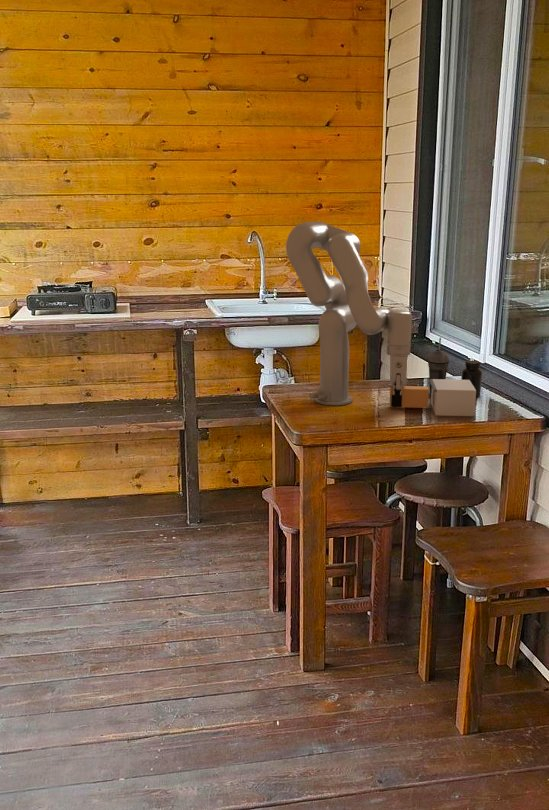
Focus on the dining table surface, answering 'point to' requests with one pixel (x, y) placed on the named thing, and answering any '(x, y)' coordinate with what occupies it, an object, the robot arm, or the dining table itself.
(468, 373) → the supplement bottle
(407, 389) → the orange rectangular block
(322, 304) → the robot arm
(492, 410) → the dining table surface
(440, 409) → the beige rectangular block
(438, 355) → the beverage cup
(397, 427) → the dining table surface
